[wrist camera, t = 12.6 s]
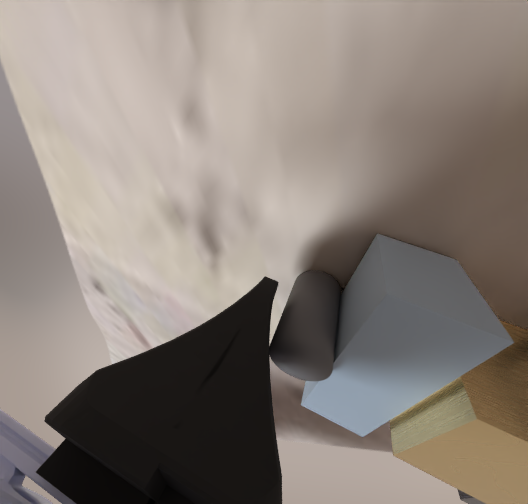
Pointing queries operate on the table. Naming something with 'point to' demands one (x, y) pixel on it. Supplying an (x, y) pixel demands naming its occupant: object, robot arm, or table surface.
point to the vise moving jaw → (384, 334)
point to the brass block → (474, 428)
